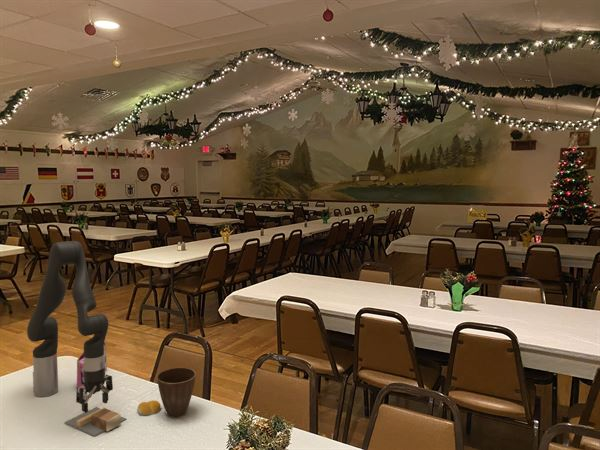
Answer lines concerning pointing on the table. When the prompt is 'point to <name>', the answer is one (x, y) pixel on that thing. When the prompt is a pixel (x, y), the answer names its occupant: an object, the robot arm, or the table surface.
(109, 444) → the table surface
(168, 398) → the plant pot
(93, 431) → the mat
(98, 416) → the brown wooden block
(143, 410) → the bread roll
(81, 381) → the gum box
